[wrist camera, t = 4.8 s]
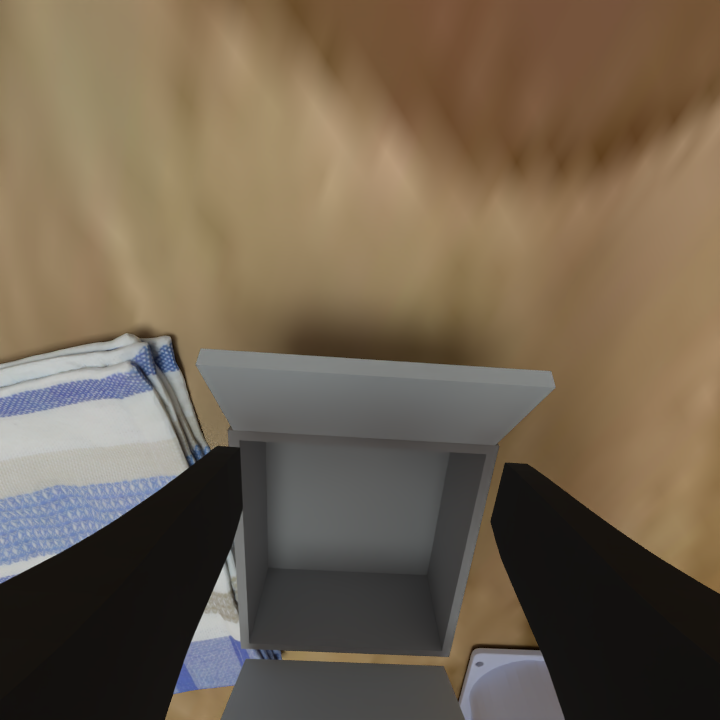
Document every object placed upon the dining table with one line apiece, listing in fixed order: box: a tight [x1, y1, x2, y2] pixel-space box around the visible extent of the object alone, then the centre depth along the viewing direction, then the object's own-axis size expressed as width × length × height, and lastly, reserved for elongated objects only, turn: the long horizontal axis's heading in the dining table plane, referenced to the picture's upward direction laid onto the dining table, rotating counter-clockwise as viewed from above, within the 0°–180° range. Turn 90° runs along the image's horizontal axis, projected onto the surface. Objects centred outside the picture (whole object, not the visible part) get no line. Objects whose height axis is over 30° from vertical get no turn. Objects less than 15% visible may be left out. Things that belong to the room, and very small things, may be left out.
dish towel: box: [0, 333, 282, 694], centre depth 21 cm, size 17×24×3 cm
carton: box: [228, 426, 499, 657], centre depth 18 cm, size 12×10×4 cm
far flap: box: [221, 659, 465, 720], centre depth 16 cm, size 4×9×1 cm
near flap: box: [196, 349, 556, 445], centre depth 12 cm, size 4×9×1 cm
